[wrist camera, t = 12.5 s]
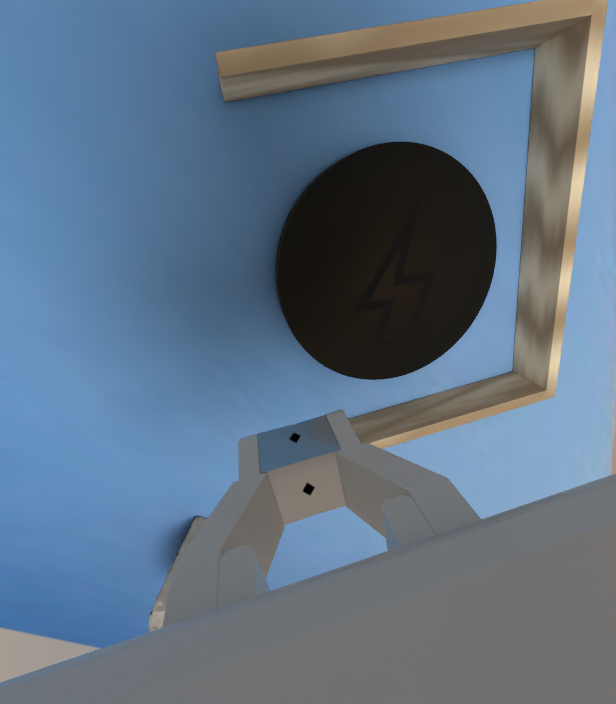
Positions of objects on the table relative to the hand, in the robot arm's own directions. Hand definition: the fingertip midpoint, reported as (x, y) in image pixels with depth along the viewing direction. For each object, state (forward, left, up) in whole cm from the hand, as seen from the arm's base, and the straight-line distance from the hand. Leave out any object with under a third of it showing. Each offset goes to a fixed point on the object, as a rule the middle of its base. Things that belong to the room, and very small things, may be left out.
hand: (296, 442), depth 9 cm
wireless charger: (0, +10, -18) cm, 21 cm away
